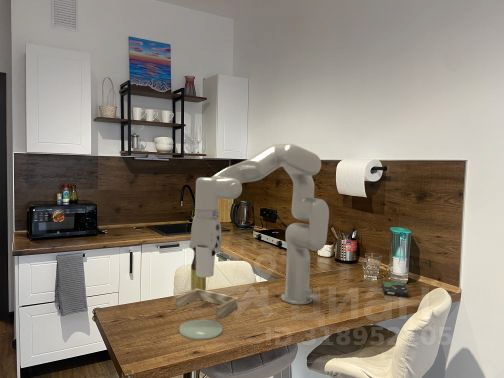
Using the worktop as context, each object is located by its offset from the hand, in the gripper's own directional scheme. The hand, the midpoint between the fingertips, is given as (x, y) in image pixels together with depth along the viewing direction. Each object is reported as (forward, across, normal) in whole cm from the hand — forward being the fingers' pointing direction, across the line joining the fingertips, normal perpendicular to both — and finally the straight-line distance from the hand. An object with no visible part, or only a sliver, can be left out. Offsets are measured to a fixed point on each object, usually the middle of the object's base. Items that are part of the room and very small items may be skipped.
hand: (204, 268), depth 135 cm
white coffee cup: (+2, 0, 0) cm, 2 cm away
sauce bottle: (+20, +21, -25) cm, 38 cm away
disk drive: (+20, -49, -79) cm, 95 cm away
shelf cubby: (+19, +8, -14) cm, 25 cm away
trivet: (+19, -3, +4) cm, 20 cm away
